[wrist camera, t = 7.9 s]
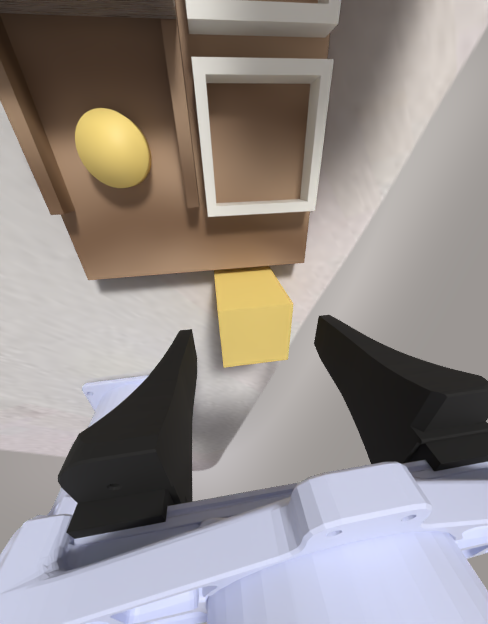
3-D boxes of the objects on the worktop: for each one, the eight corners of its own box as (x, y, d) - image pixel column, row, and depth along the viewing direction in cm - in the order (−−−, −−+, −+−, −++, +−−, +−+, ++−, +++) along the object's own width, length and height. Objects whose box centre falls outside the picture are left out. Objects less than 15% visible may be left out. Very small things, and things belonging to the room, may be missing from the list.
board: (296, 255, 17) (310, 269, 15) (97, 271, 16) (79, 288, 13) (341, -215, 8) (393, -361, 6) (-117, -283, 7) (-282, -513, 4)
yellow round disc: (157, 185, 12) (154, 186, 12) (98, 187, 12) (90, 189, 11) (142, 112, 11) (137, 107, 10) (74, 113, 10) (62, 108, 10)
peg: (266, 309, 19) (287, 359, 14) (218, 314, 19) (223, 367, 14) (267, 264, 17) (293, 303, 12) (213, 268, 17) (217, 311, 12)
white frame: (307, 207, 14) (315, 210, 13) (207, 213, 13) (208, 216, 12) (356, -250, 7) (380, -317, 6) (156, -283, 7) (147, -364, 6)
